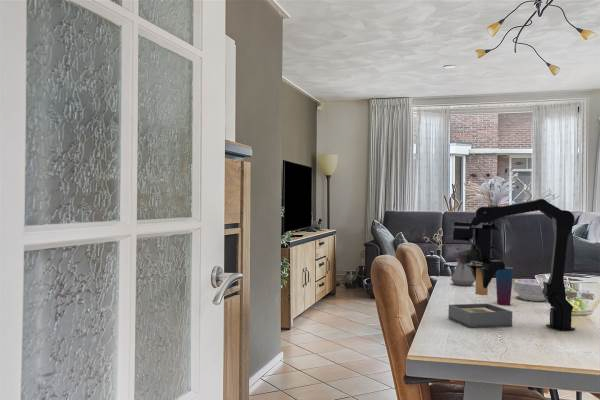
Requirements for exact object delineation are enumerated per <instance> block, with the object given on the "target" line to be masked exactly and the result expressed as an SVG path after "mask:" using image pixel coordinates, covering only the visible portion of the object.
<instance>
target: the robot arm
mask: <svg viewBox="0 0 600 400" xmlns="http://www.w3.org/2000/svg"><path fill="white" fill-rule="evenodd" d="M537 211H539V212H541V213H542V214H543V215H545V216H546V217H548V218H549V219H551V224H552V230H553V248H552V255H551V265H550V275H549V278H548V280H547V281H548V282H545V281H546V280H544V281H543V286H544V288H543V291H542V293H543V294H544V298H545V299H546V300H545V301H547V303H548V304H549V306H550V309H549V310H550V312H549V323H548V324H547V323H546V325H545V326H546V327H548V328H551V329H554V330H557V331H575V330H576V327H573V326H572V313H573V312H572V311H573V309H574V306H573V305H572V304H571V303H570V301H568V300H567V294H566V286H565V281H564V280H565V279H564V278H565V277H564V276H565V269H566V260H567V259H566V258H567V250H568V249H567V248H568V242H569V240H568V239H569V237H570V235H571V232H572V230H573V227H574V223H575V220H576V219H575V215H574V214H573V212H571V211H570V210H564V209H562V208H561V209H560V208H559V207H558V206H555V205H554V204H552V203H550V202H548V201H547V200H546V199H544V198H537V199H535V200H533V199H532V200H529V201H523V202H518V203H512V204H507V205H493V206H492V205H488V206H487V205H485V206H480V207H478V208H477V209H476V210H475V213H474V217H472V219H470V221H469V222H460V221H454V222H453V230H452V241H453V242H470V240H472V239H473V238H474V244H471V245H470V246H471V247H470V249H466V250H464V251H461V252H459V253H458V254H457V255H458V259H460V262H461V263H464V264H468V263H469V265H467V266H468V267H469V268H470V269H471V272H472V274H473V276H474V279H475V281H474V283H476V268H479V269H480V271H481V272H482V276H483V287H484V288H487V287H488V286H489V285H490V283H491V281H492V279H493V278H494V276H496V272H497V271H498V270H505V267H506V263H505V262H504V261H503V260H498V259H495V258H494V257H493V256H492V250H494V249H495V245H492V243H493V242H492V241H493V231H498V230H499V227H497V226H496V224H495V222H494V221H496V220H499V219H501V218H504V217H507V216H509V217H510V216H515V215H520V214H527V213H532V212H537ZM481 223H482V224H481ZM489 223H491V224H489ZM480 224H481V226H479V227H477V226H478V225H480ZM473 235H474V236H473ZM488 288H489V287H488Z"/></svg>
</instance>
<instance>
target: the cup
mask: <svg viewBox="0 0 600 400" xmlns="http://www.w3.org/2000/svg"><path fill="white" fill-rule="evenodd" d="M513 277H514V268H513V267H508V266H505V270H498V271H497V272H496V273H495V281H496V283H495V284H496V303H497V305H500V306H511V300H512V289H513V287H512V286H513Z"/></svg>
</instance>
